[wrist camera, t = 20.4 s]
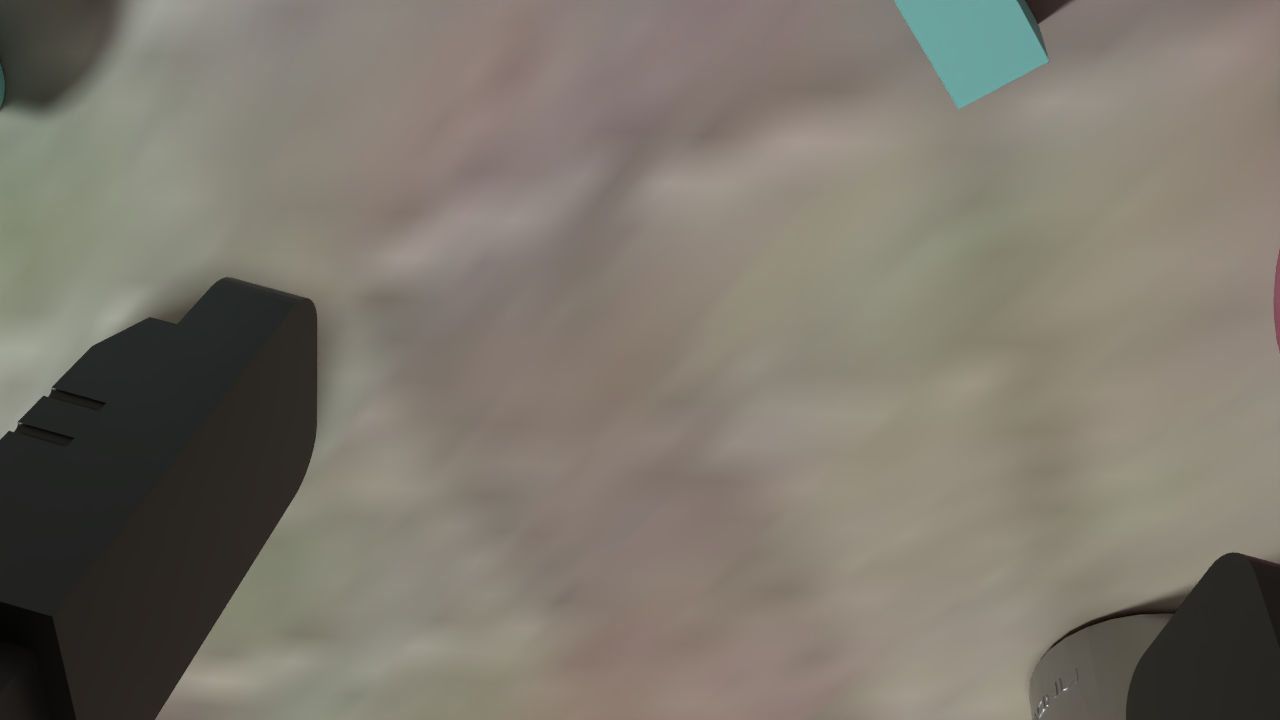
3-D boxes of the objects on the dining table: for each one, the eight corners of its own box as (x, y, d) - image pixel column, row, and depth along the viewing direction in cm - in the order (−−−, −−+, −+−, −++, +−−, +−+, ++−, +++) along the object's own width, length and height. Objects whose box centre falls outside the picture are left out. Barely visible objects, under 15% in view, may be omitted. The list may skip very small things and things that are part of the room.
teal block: (880, -54, 29) (880, -23, 27) (967, -109, 28) (973, -80, 26) (953, 71, 30) (958, 109, 29) (1038, 25, 29) (1049, 61, 27)
